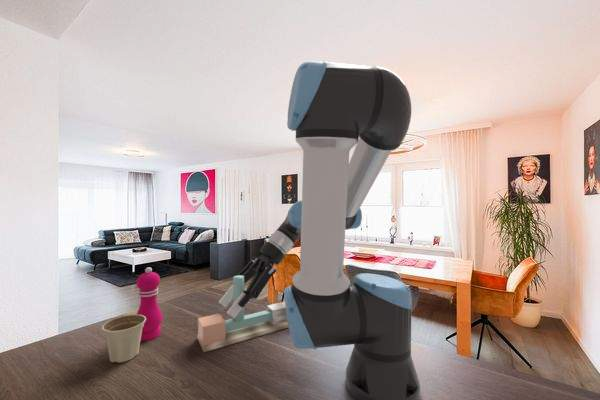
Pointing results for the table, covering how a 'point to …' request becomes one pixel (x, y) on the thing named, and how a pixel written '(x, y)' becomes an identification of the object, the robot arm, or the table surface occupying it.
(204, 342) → the socket block
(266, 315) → the upright post with base
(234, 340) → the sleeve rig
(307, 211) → the robot arm
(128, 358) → the flower pot
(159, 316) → the pepper mill
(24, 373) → the table surface
